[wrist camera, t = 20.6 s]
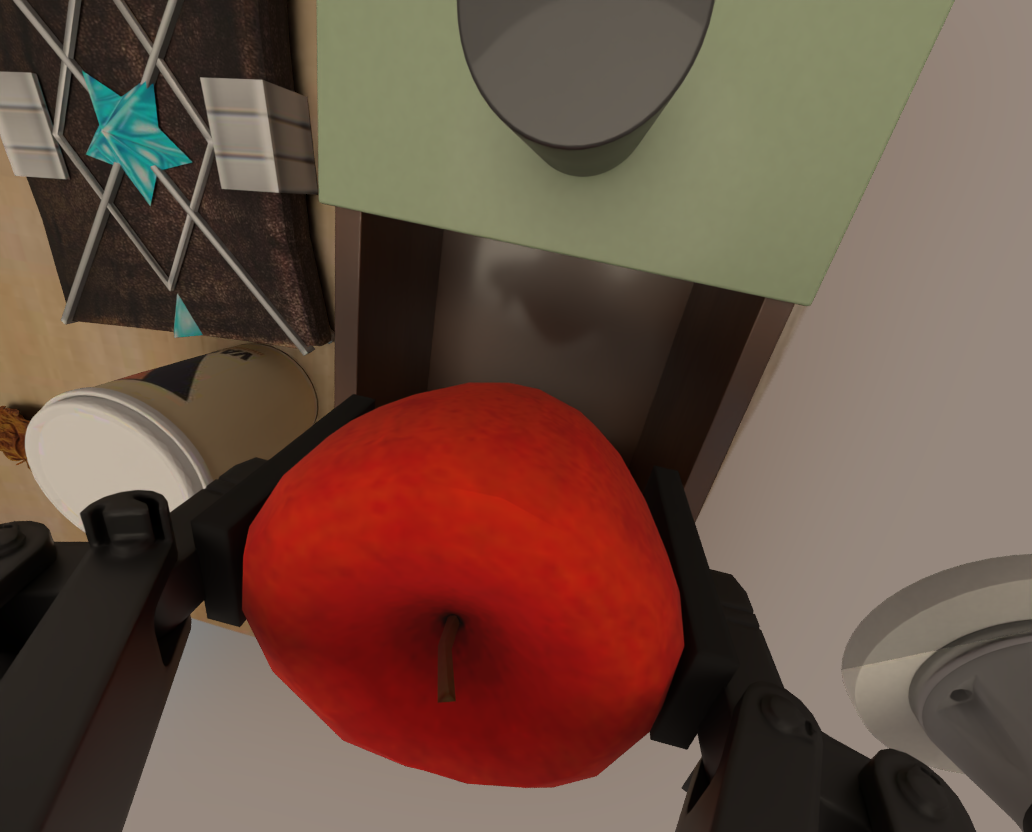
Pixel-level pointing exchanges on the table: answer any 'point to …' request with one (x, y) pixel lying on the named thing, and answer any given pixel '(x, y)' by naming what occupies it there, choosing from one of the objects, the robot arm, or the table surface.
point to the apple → (469, 588)
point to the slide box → (552, 338)
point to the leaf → (13, 434)
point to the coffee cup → (168, 427)
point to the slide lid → (622, 125)
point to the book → (167, 163)
